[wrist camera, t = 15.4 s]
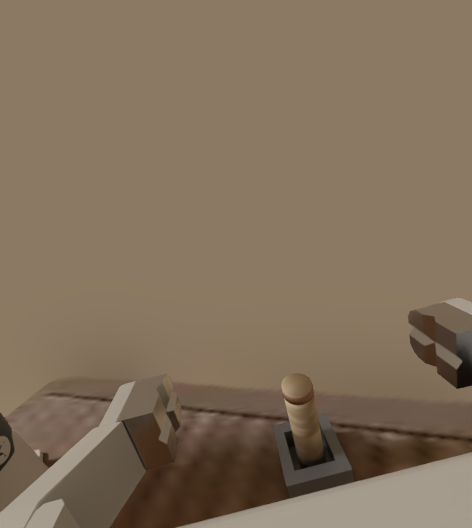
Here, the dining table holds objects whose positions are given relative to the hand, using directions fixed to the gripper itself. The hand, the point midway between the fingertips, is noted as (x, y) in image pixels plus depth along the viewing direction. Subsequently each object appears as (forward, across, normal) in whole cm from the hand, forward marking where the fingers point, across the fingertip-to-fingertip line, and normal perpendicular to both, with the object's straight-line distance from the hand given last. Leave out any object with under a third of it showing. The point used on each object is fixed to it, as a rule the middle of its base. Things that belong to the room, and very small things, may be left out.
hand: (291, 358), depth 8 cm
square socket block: (+18, +2, -32) cm, 37 cm away
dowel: (+18, +2, -31) cm, 36 cm away
